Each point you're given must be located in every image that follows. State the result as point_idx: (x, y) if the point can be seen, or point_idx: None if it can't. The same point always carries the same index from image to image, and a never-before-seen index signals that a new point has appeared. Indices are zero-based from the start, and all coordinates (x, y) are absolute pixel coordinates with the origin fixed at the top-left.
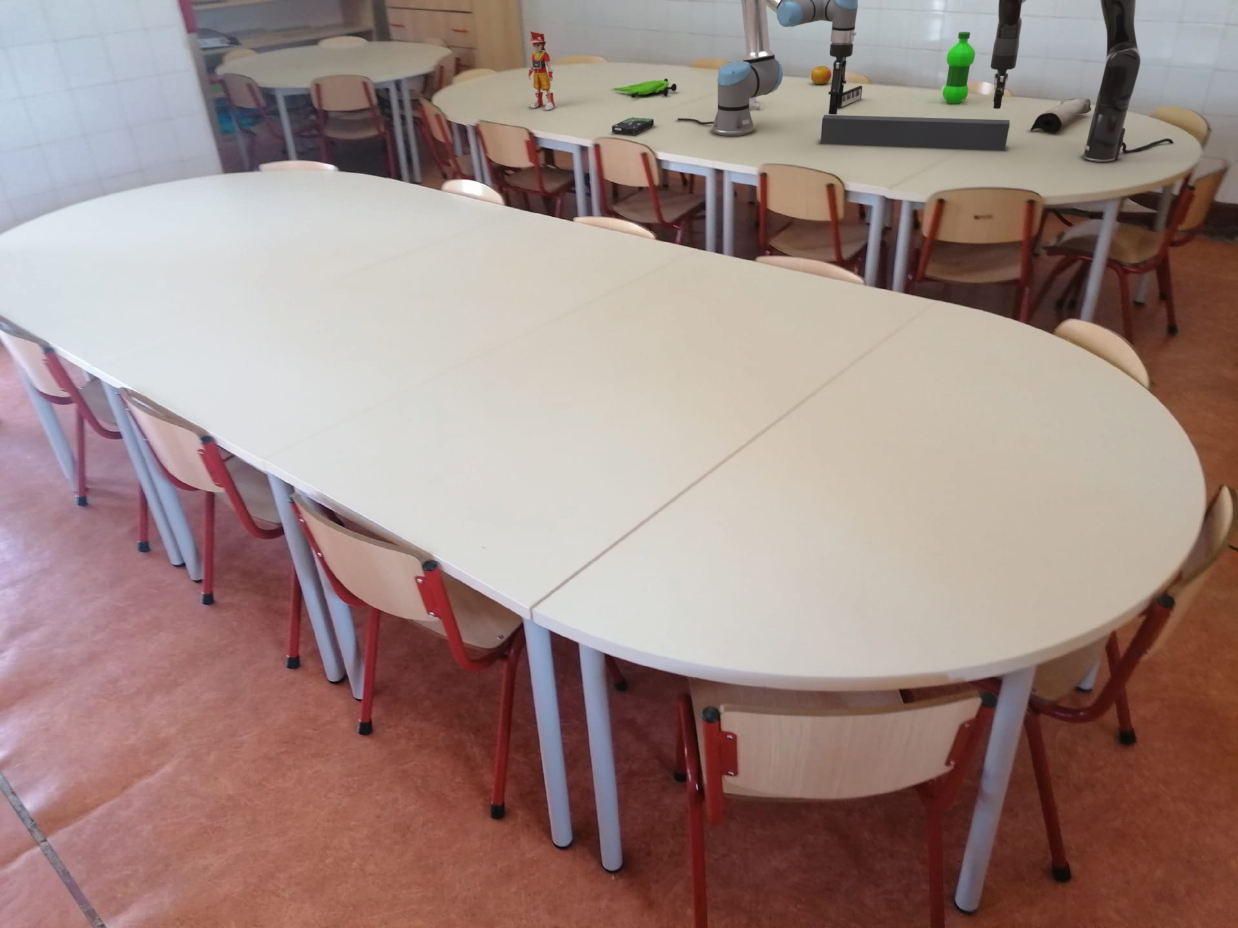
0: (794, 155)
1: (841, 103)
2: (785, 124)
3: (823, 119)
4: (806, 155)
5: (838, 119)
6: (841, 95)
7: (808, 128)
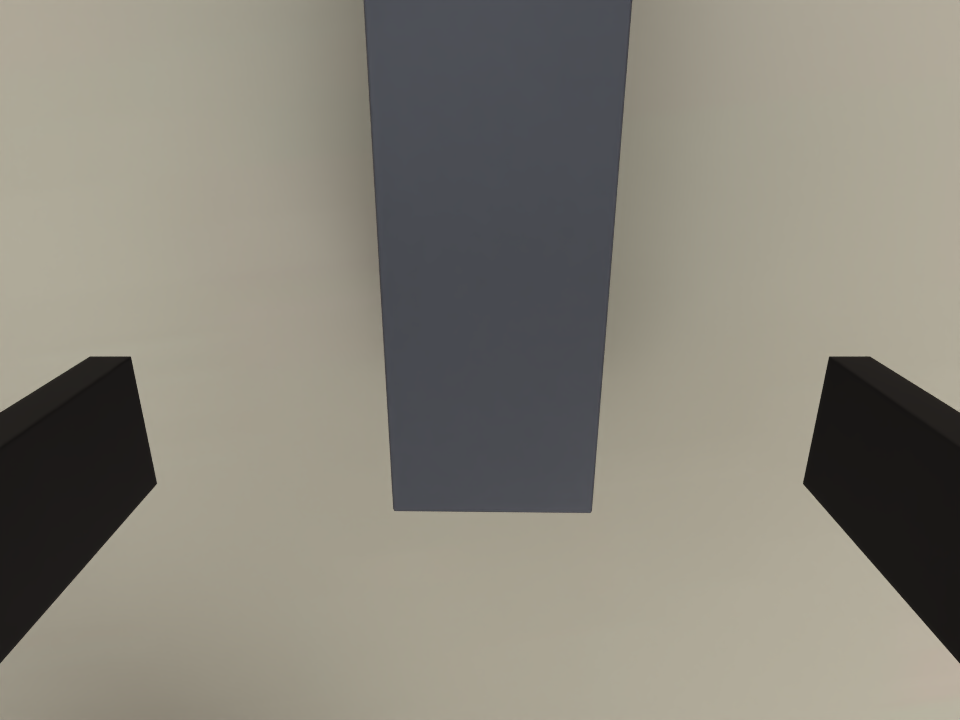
0: None
1: (121, 367)
2: (23, 692)
3: (589, 492)
4: None
5: (607, 298)
6: (27, 456)
7: None
